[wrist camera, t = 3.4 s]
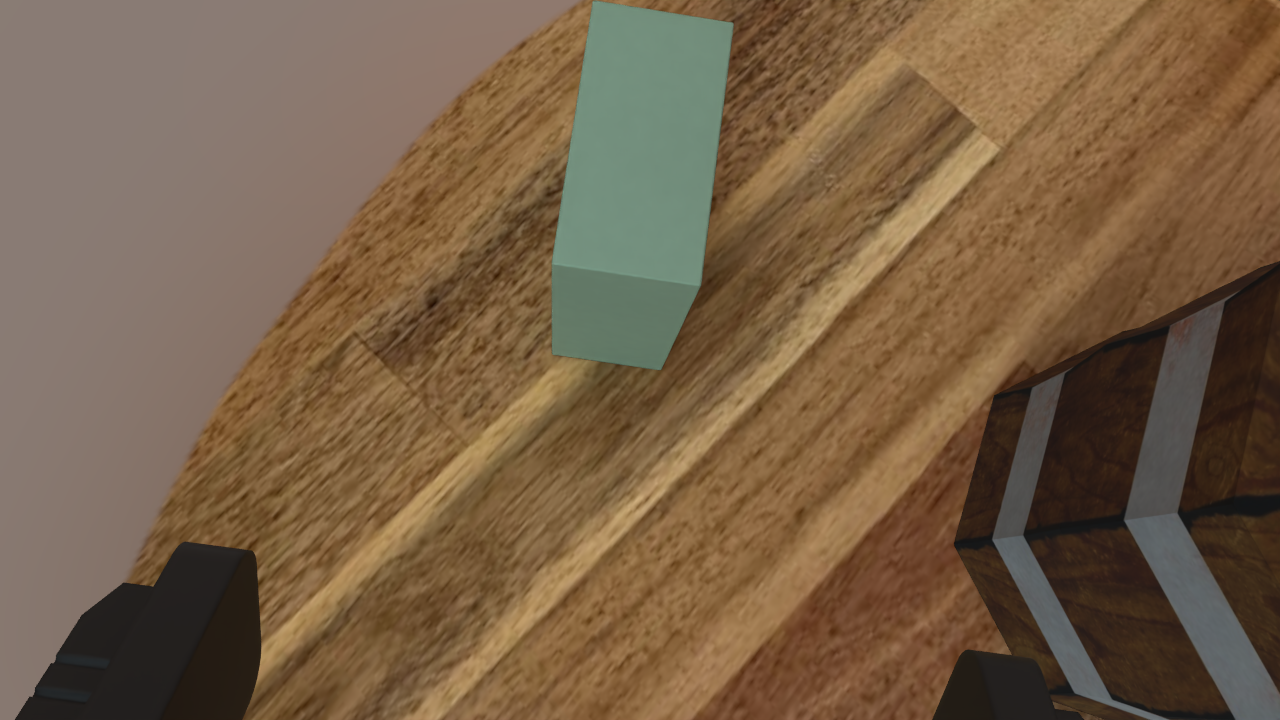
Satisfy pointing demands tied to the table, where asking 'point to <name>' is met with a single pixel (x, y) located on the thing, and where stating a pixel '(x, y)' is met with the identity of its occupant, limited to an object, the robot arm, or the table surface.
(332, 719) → the table surface
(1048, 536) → the mug
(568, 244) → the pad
